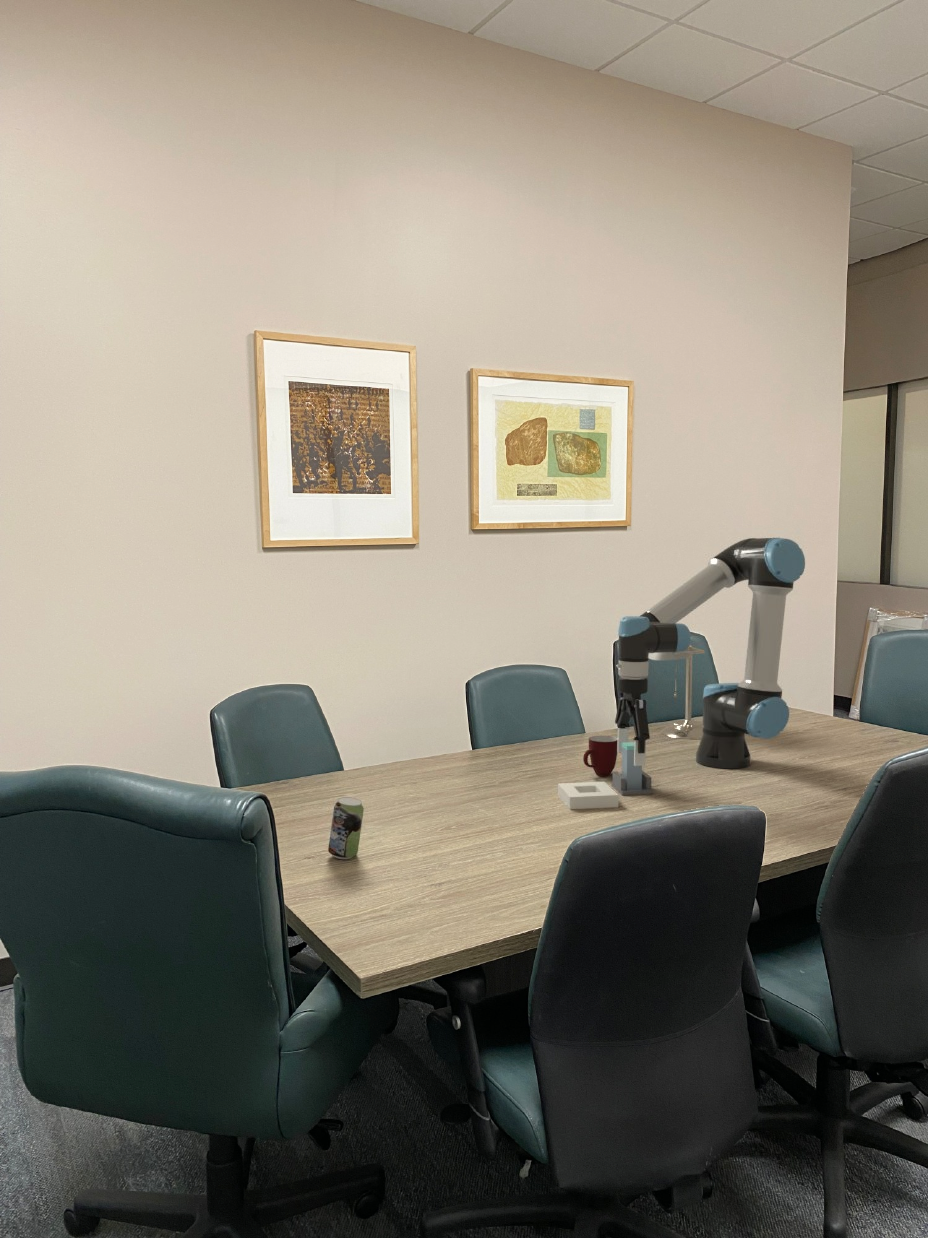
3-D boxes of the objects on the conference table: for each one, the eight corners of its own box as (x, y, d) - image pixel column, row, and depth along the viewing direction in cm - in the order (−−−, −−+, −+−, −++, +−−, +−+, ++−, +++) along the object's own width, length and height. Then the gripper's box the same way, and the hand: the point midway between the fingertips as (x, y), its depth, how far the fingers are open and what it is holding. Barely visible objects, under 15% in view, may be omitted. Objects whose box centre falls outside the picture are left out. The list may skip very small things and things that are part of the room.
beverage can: (329, 852, 182) (328, 795, 181) (364, 850, 182) (364, 794, 181) (327, 863, 176) (325, 804, 174) (364, 861, 176) (363, 803, 175)
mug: (597, 781, 234) (597, 744, 233) (575, 775, 240) (576, 739, 239) (624, 775, 240) (624, 739, 239) (602, 769, 247) (603, 734, 246)
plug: (636, 787, 228) (637, 741, 227) (642, 791, 224) (642, 745, 223) (621, 787, 228) (621, 742, 227) (626, 792, 224) (626, 746, 223)
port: (603, 793, 223) (603, 781, 223) (618, 807, 211) (618, 795, 211) (557, 795, 221) (557, 783, 221) (569, 809, 210) (569, 797, 209)
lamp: (631, 726, 303) (632, 629, 300) (699, 724, 306) (700, 628, 303) (656, 743, 277) (657, 637, 274) (730, 741, 280) (732, 636, 277)
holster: (640, 784, 231) (640, 769, 231) (652, 794, 222) (652, 778, 222) (611, 785, 230) (611, 770, 230) (622, 795, 221) (622, 779, 221)
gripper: (604, 670, 235) (602, 748, 237) (634, 684, 211) (632, 771, 212) (631, 670, 236) (629, 747, 238) (664, 684, 212) (662, 770, 213)
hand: (630, 759), depth 225 cm, fingers open, 13 cm apart
